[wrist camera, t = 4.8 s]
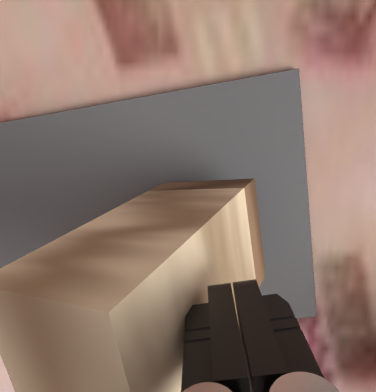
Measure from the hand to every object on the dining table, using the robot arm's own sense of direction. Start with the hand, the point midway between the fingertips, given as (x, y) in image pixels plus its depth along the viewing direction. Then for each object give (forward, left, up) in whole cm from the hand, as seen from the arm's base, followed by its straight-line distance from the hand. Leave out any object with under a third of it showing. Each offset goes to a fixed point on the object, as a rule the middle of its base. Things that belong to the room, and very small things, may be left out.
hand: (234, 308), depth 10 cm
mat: (+5, 0, -8) cm, 10 cm away
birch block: (0, 0, -7) cm, 7 cm away
